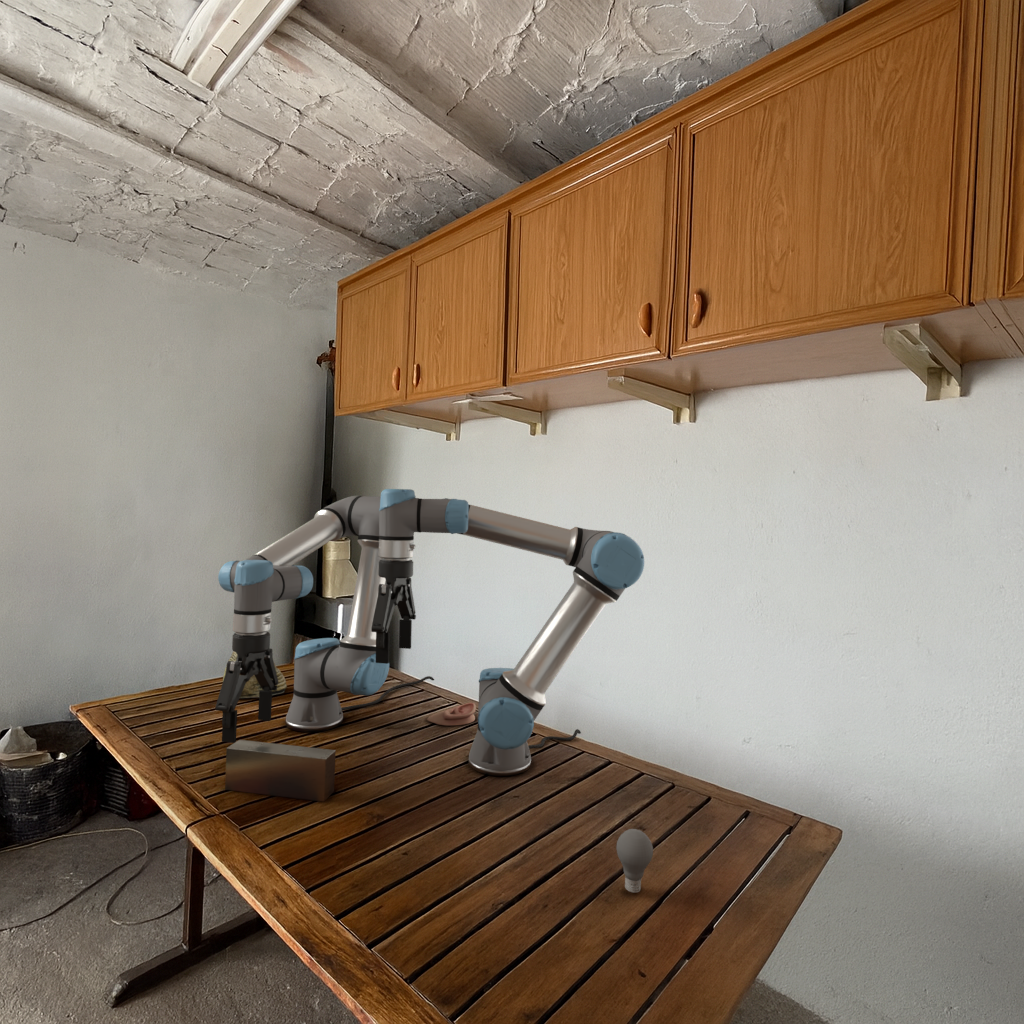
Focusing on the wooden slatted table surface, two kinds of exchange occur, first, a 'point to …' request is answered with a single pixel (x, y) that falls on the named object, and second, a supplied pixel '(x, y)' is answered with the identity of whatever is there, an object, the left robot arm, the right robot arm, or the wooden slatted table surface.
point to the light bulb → (634, 857)
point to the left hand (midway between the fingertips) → (247, 730)
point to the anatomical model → (455, 715)
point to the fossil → (254, 687)
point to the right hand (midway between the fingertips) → (394, 655)
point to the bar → (280, 770)
